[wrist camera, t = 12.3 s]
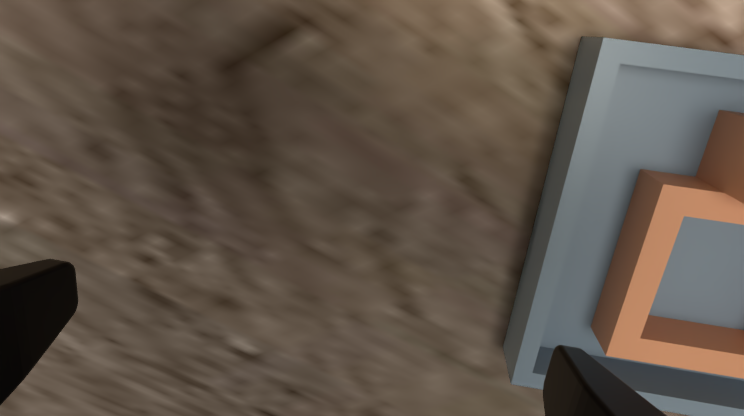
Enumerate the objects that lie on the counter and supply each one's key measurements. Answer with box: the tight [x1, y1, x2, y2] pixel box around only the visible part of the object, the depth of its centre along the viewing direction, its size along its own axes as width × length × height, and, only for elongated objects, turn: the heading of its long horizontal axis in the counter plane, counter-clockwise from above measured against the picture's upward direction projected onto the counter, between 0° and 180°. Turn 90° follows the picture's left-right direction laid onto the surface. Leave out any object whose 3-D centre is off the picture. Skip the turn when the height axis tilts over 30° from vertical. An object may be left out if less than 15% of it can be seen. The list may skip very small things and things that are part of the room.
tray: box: [503, 37, 744, 416], centre depth 19 cm, size 13×13×2 cm
